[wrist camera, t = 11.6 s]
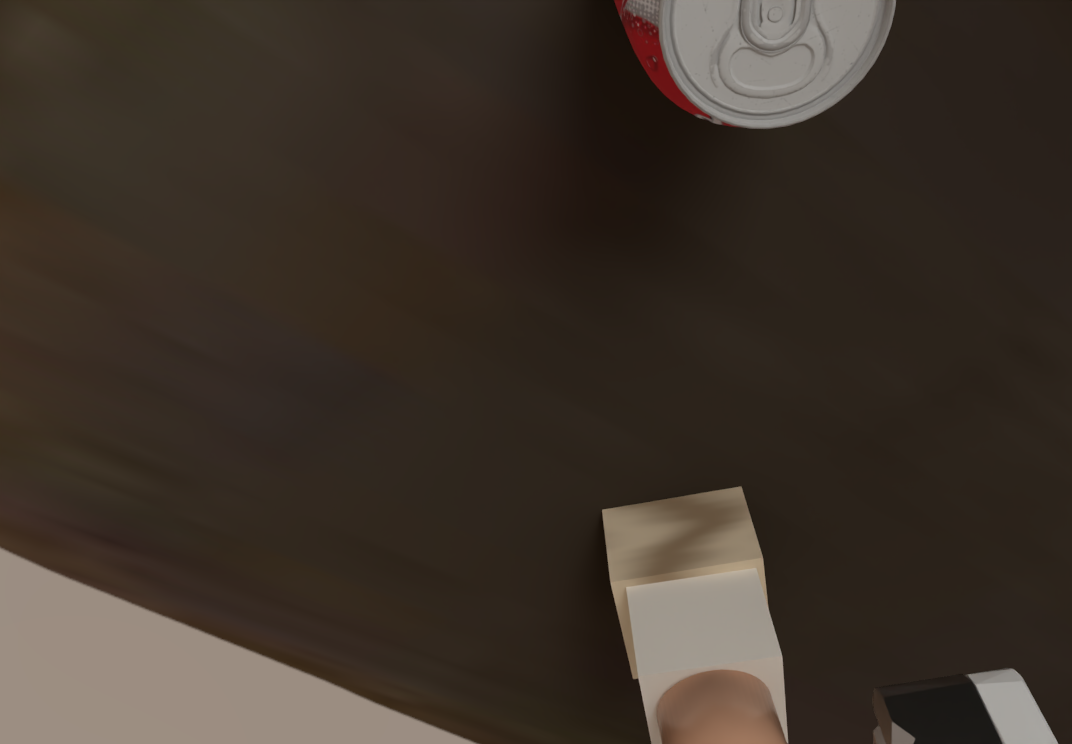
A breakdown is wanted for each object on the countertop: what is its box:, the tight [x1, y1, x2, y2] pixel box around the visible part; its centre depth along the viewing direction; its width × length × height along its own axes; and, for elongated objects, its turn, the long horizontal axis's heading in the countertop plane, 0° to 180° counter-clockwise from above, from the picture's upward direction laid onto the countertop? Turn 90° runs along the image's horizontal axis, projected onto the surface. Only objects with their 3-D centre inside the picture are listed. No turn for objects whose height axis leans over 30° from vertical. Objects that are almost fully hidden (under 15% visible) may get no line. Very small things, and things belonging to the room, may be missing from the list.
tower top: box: [626, 568, 788, 744], centre depth 43 cm, size 6×6×5 cm
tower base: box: [602, 487, 768, 679], centre depth 48 cm, size 7×7×5 cm
